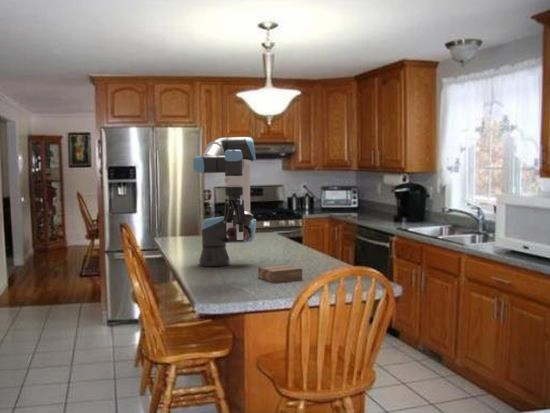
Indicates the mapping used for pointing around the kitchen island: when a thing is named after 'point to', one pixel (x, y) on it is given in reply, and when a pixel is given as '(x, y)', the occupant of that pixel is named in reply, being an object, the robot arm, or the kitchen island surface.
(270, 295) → the kitchen island surface
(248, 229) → the brown piece
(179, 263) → the kitchen island surface
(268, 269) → the walnut riser block
